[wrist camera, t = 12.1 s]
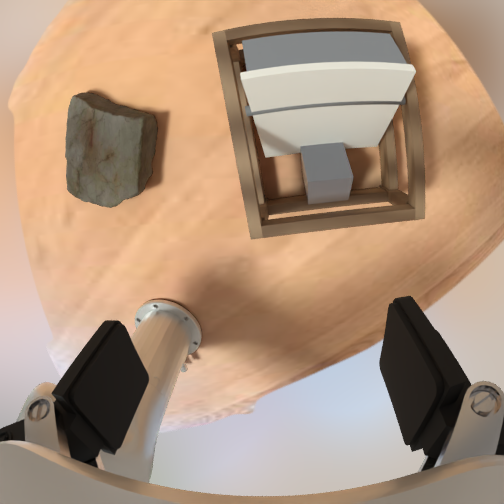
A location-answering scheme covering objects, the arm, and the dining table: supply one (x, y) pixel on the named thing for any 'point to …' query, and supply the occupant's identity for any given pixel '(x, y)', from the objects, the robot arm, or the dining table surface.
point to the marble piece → (107, 150)
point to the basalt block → (326, 172)
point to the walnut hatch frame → (262, 207)
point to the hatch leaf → (323, 88)
